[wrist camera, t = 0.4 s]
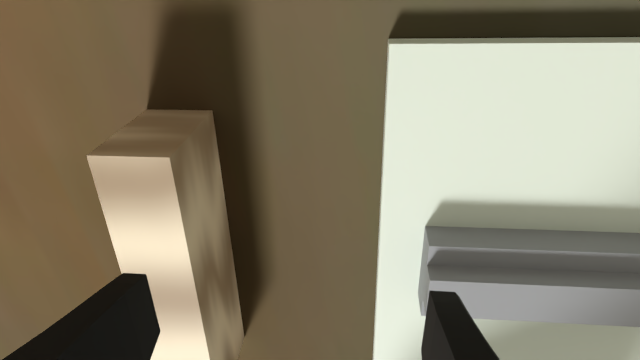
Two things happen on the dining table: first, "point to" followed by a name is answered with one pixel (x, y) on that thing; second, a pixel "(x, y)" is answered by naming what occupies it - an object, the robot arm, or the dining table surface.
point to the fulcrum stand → (512, 194)
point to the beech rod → (174, 228)
